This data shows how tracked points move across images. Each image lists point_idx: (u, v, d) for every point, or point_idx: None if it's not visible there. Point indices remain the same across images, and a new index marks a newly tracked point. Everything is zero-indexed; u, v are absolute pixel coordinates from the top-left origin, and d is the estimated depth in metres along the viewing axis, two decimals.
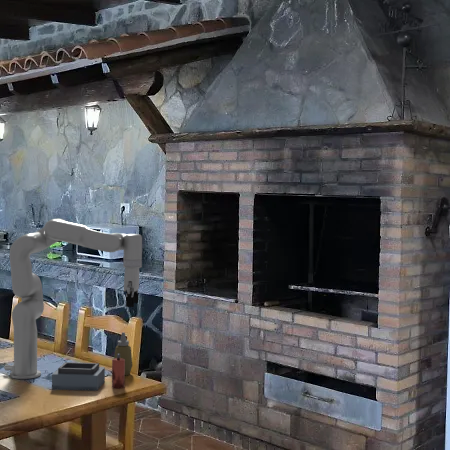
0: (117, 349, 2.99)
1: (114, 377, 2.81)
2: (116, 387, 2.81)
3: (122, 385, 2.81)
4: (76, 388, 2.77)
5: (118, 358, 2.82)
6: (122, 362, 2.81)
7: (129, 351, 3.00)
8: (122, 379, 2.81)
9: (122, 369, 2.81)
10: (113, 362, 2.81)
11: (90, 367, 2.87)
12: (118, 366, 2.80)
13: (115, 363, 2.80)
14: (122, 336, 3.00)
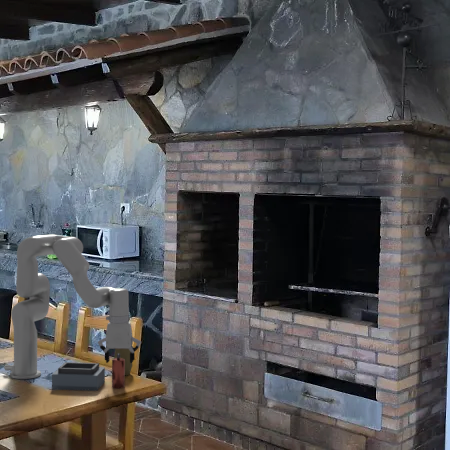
0: (117, 349, 2.99)
1: (114, 377, 2.81)
2: (116, 387, 2.81)
3: (122, 385, 2.81)
4: (76, 388, 2.77)
5: (118, 358, 2.82)
6: (122, 362, 2.81)
7: (129, 351, 3.00)
8: (122, 379, 2.81)
9: (122, 369, 2.81)
10: (113, 362, 2.81)
11: (90, 367, 2.87)
12: (118, 366, 2.80)
13: (115, 363, 2.80)
14: None
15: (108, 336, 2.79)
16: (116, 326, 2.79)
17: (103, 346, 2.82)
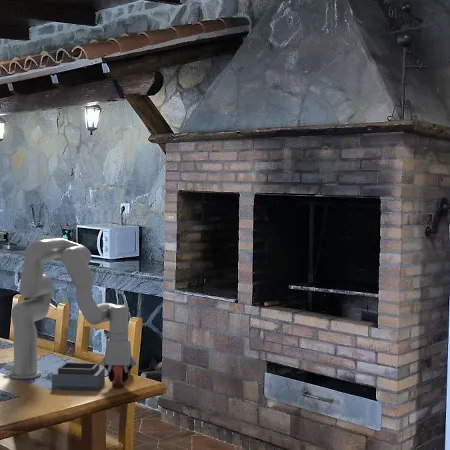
0: None
1: (114, 377, 2.81)
2: (116, 387, 2.81)
3: (122, 385, 2.81)
4: (76, 388, 2.77)
5: None
6: None
7: None
8: (122, 379, 2.81)
9: (122, 369, 2.81)
10: None
11: (90, 367, 2.87)
12: (118, 366, 2.80)
13: None
14: None
15: (107, 353, 2.80)
16: (115, 343, 2.79)
17: (107, 365, 2.83)
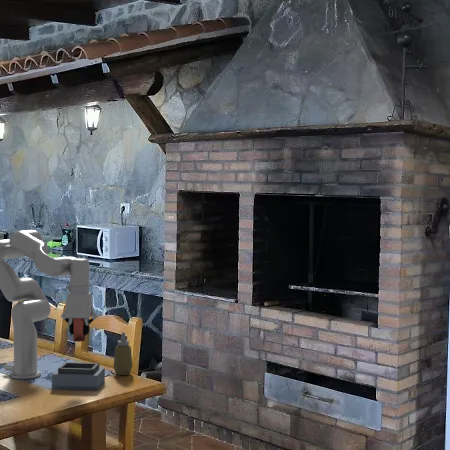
0: (117, 349, 2.99)
1: (75, 330, 2.81)
2: (77, 340, 2.81)
3: (83, 338, 2.81)
4: (76, 388, 2.77)
5: None
6: None
7: (129, 351, 3.00)
8: (83, 332, 2.81)
9: (83, 322, 2.81)
10: None
11: (90, 367, 2.87)
12: None
13: None
14: (122, 336, 3.00)
15: (68, 305, 2.80)
16: (76, 296, 2.79)
17: (68, 318, 2.83)
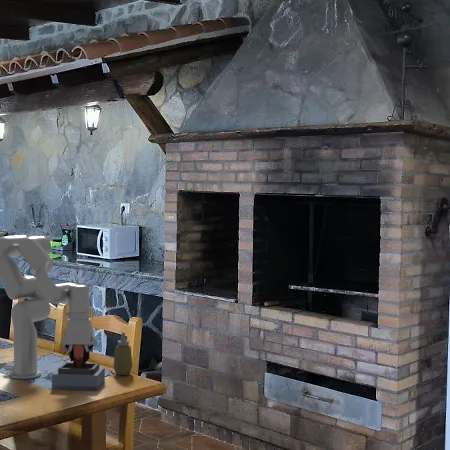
0: (117, 349, 2.99)
1: (75, 356, 2.81)
2: (77, 366, 2.81)
3: (83, 364, 2.82)
4: (76, 388, 2.77)
5: None
6: None
7: (129, 351, 3.00)
8: (83, 358, 2.82)
9: (83, 348, 2.81)
10: None
11: (90, 367, 2.87)
12: (79, 345, 2.81)
13: None
14: (122, 336, 3.00)
15: (68, 332, 2.80)
16: (76, 322, 2.80)
17: (68, 345, 2.83)
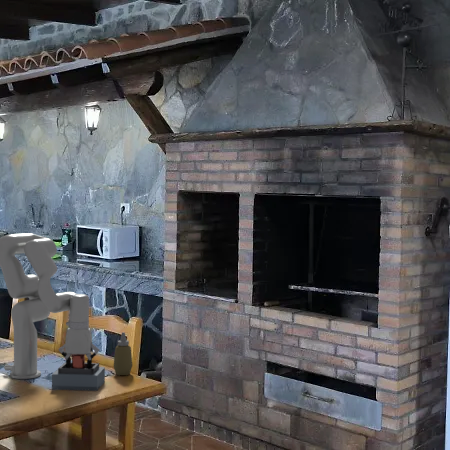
0: (117, 349, 2.99)
1: None
2: None
3: None
4: (76, 388, 2.77)
5: None
6: (81, 357, 2.81)
7: (129, 351, 3.00)
8: None
9: (82, 364, 2.82)
10: (72, 357, 2.81)
11: None
12: (78, 361, 2.81)
13: (74, 358, 2.81)
14: (122, 336, 3.00)
15: (67, 341, 2.81)
16: (76, 332, 2.80)
17: (65, 353, 2.84)
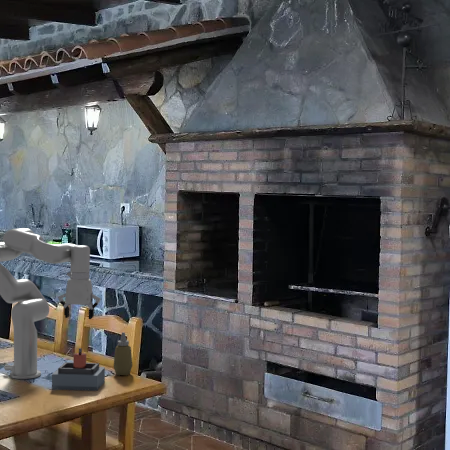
0: (117, 349, 2.99)
1: None
2: None
3: None
4: (76, 388, 2.77)
5: (80, 353, 2.83)
6: (83, 357, 2.82)
7: (129, 351, 3.00)
8: None
9: (83, 364, 2.82)
10: (74, 356, 2.82)
11: (90, 367, 2.87)
12: (79, 360, 2.81)
13: (76, 357, 2.81)
14: (122, 336, 3.00)
15: (68, 292, 2.83)
16: (76, 282, 2.82)
17: (63, 301, 2.86)
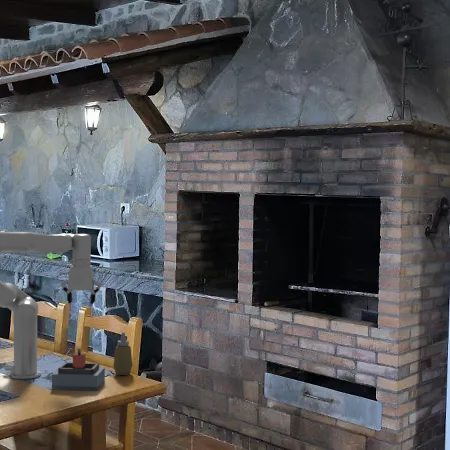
0: (117, 349, 2.99)
1: None
2: None
3: None
4: (76, 388, 2.77)
5: (79, 353, 2.83)
6: (82, 357, 2.82)
7: (129, 351, 3.00)
8: None
9: (82, 364, 2.82)
10: (73, 357, 2.82)
11: (90, 367, 2.87)
12: (78, 361, 2.81)
13: (75, 358, 2.81)
14: (122, 336, 3.00)
15: (70, 278, 2.98)
16: (78, 269, 2.97)
17: (66, 288, 3.01)
